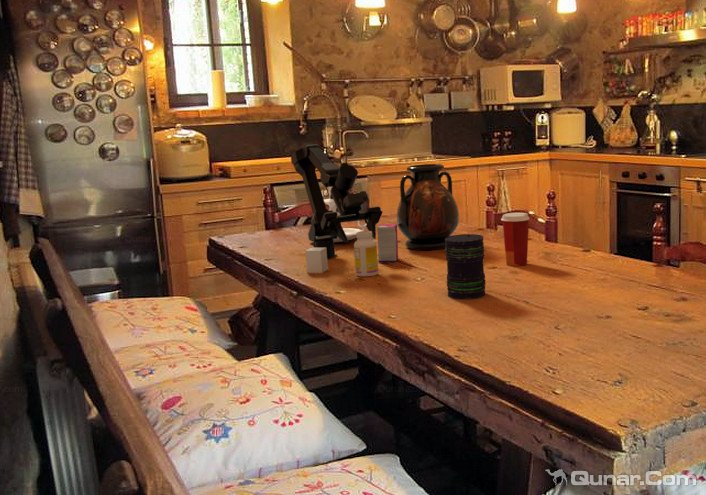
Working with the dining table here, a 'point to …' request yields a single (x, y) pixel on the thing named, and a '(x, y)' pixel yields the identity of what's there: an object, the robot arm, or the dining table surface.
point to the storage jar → (465, 266)
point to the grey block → (316, 260)
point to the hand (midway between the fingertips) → (361, 240)
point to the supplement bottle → (365, 254)
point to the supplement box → (387, 243)
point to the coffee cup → (516, 238)
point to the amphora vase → (427, 208)
